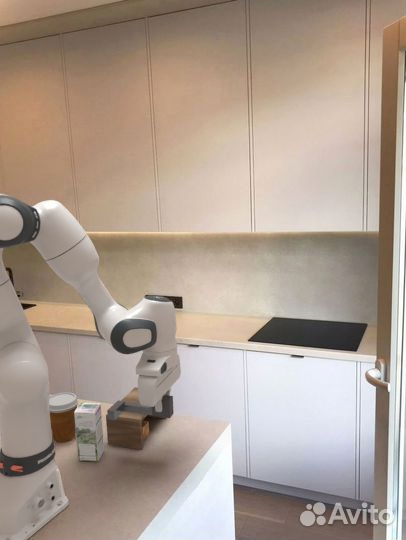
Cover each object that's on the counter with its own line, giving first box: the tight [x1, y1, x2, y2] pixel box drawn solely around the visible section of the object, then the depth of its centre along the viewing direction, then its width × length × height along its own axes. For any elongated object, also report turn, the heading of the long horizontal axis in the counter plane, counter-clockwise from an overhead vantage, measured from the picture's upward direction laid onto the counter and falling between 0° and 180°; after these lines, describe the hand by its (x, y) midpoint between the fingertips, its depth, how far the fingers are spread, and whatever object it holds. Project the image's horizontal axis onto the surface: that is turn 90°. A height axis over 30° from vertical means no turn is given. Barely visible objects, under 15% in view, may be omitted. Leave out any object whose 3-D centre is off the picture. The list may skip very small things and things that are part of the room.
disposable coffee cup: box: [49, 392, 80, 443], centre depth 143 cm, size 10×10×12 cm
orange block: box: [142, 420, 150, 442], centre depth 142 cm, size 4×4×4 cm
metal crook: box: [106, 395, 174, 420], centre depth 127 cm, size 7×16×5 cm, turn 72°
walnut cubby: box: [105, 386, 167, 450], centre depth 145 cm, size 19×10×9 cm, turn 162°
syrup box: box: [74, 402, 105, 462], centre depth 132 cm, size 6×6×14 cm
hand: (162, 407), depth 128 cm, fingers closed on metal crook, 3 cm apart
